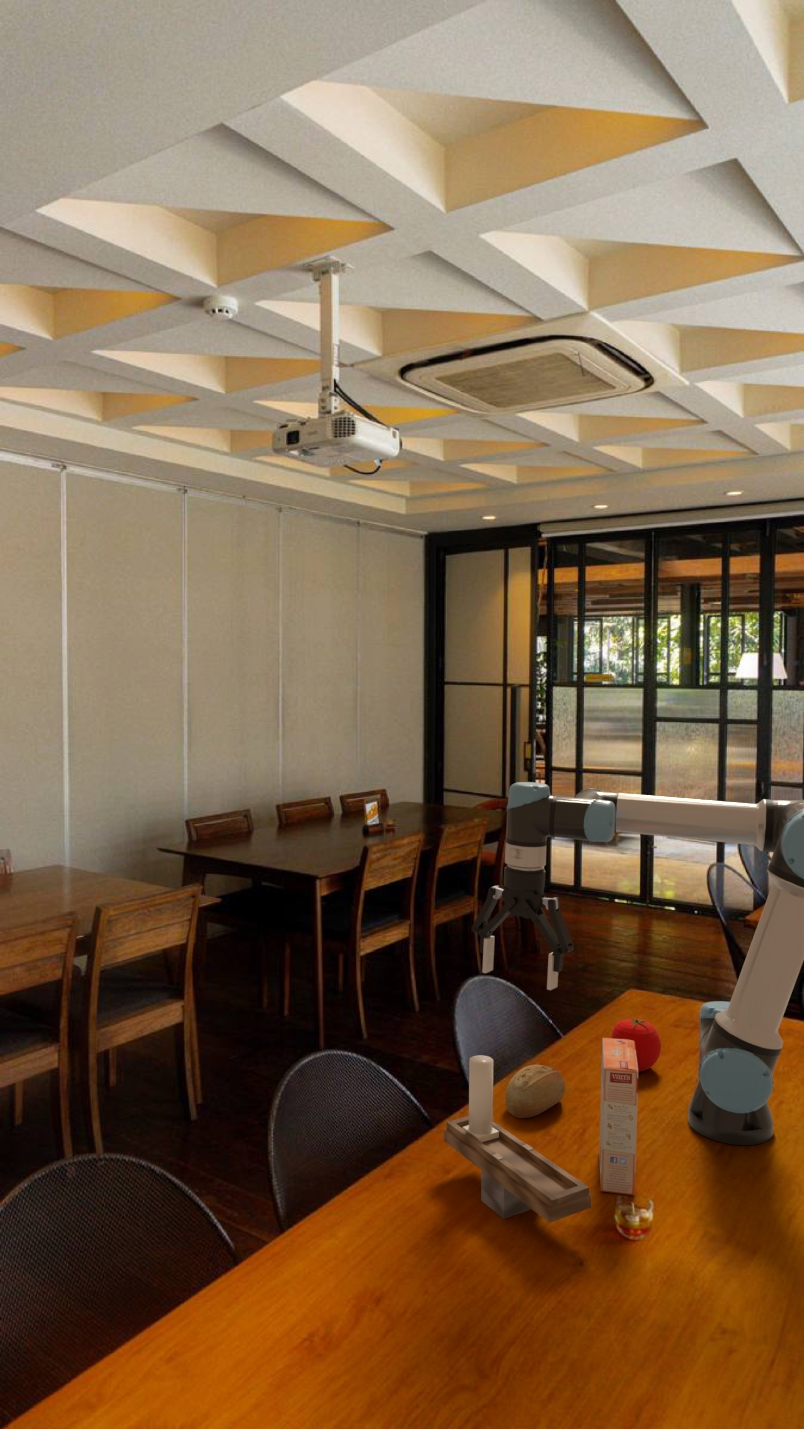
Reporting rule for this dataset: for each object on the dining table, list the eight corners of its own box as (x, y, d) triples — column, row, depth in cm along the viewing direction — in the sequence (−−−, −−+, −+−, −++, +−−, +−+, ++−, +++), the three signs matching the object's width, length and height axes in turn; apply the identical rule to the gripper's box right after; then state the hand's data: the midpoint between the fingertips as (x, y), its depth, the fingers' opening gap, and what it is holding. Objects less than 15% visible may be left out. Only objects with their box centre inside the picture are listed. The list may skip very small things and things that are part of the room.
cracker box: (637, 1197, 153) (639, 1070, 152) (599, 1193, 154) (601, 1067, 154) (633, 1155, 167) (635, 1038, 166) (599, 1151, 168) (600, 1035, 167)
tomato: (598, 1066, 205) (599, 1017, 205) (630, 1054, 212) (631, 1007, 211) (637, 1082, 197) (638, 1031, 196) (669, 1070, 203) (670, 1021, 203)
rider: (498, 1137, 158) (499, 1062, 158) (477, 1143, 156) (478, 1067, 155) (483, 1126, 162) (484, 1053, 161) (462, 1132, 160) (463, 1058, 159)
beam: (590, 1240, 141) (591, 1185, 141) (548, 1256, 137) (549, 1200, 137) (482, 1157, 165) (482, 1111, 165) (443, 1169, 161) (444, 1121, 161)
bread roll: (578, 1102, 188) (578, 1063, 187) (536, 1129, 176) (536, 1087, 176) (537, 1088, 194) (537, 1050, 194) (494, 1113, 183) (494, 1072, 182)
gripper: (457, 858, 179) (451, 969, 180) (577, 880, 164) (571, 1000, 165) (477, 853, 185) (472, 960, 186) (596, 874, 170) (589, 990, 171)
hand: (519, 979), depth 175 cm, fingers open, 13 cm apart
